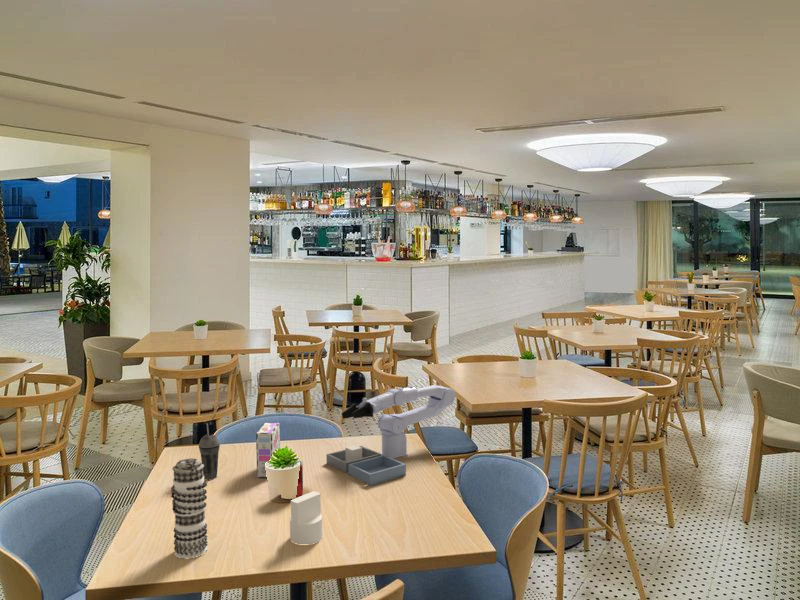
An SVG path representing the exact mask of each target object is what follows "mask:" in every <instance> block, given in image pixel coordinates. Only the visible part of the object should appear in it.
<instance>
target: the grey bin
mask: <svg viewBox="0 0 800 600" xmlns="http://www.w3.org/2000/svg"><path fill="white" fill-rule="evenodd" d="M358 446H359V447H361V448H362V458H361V459H357V460H353V461H350V462H346V451H345V449H343V450H339V451H333V452H330V453H327V454H326V464H327V465H329V466H331V467H333V468H335V469H337V470H339V471H341V472H343V473H346V474H348V464H352V463H356V462H360V461H363V460H367V459H371V458H375V457H378V456H381V454H380V453H381V452H377V451H375V450H373V449H370V448H367V447H366V446H364V445H358Z"/></svg>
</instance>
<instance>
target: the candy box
mask: <svg viewBox="0 0 800 600" xmlns="http://www.w3.org/2000/svg"><path fill="white" fill-rule="evenodd" d="M280 431H281V429H280V422H265V423H263V425H262V426H261V427H260V428H259V430H258V431H257V432H256V434H255V437H256V438H255V440H256V442H255V443H256V444H255V445H256V446H255V447H256V449H255V450H256V478H258V479H259V478H266V470H265V463H266V462H267V461H269V460H270V458H271V456H272V454H273V452H274V451H275V450H276V449H278V448H280V449H281V439H280V438H281V433H280Z"/></svg>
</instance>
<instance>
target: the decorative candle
mask: <svg viewBox="0 0 800 600" xmlns="http://www.w3.org/2000/svg"><path fill="white" fill-rule="evenodd" d="M203 467H204V464H203V463H202V461H201V460H199V459H197V458H191V457H190V458H184V459H180V460H179V461H177V463H176V464H175V465H174V466H173V467H172V468H171V469H172V471H173V479H172V486H171V488H170V489H171V498H172V500H171V501H172V502H171V503H172V508H171V509H172V513H173V514H174V515H175V516H174V519H175V521H174V527H173V533H174V534H173V538H174V540H173V545H174V547H173V550H174V551H175V552H174V556H175V557H176V558H177V557H178V559H180V558H193V557H196V556H199V555H201V554H203V553H204V552H205V551H206V550H207V551H208V536H207V533H208V529H207V527H208V524H207V523H206V522H207V521H206V516H205V515H206V514H205V512H206V509H207V502H205V501H206V500H207V498H208V497H207V495H206V494H207V489H205V488H206V487H207V486H208V484H207V482H206V480H207V479H206V478H204V475H203ZM193 559H194V558H193Z"/></svg>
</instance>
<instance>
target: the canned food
mask: <svg viewBox="0 0 800 600" xmlns="http://www.w3.org/2000/svg"><path fill="white" fill-rule="evenodd" d="M298 460H299V461H300V471H299V479H298V486H297V495H296V497H297V498H298V497H300V496H303V495H304V478H303V477H304V474H303V471H304V470H303V461H302V460H300V459H298Z"/></svg>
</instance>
